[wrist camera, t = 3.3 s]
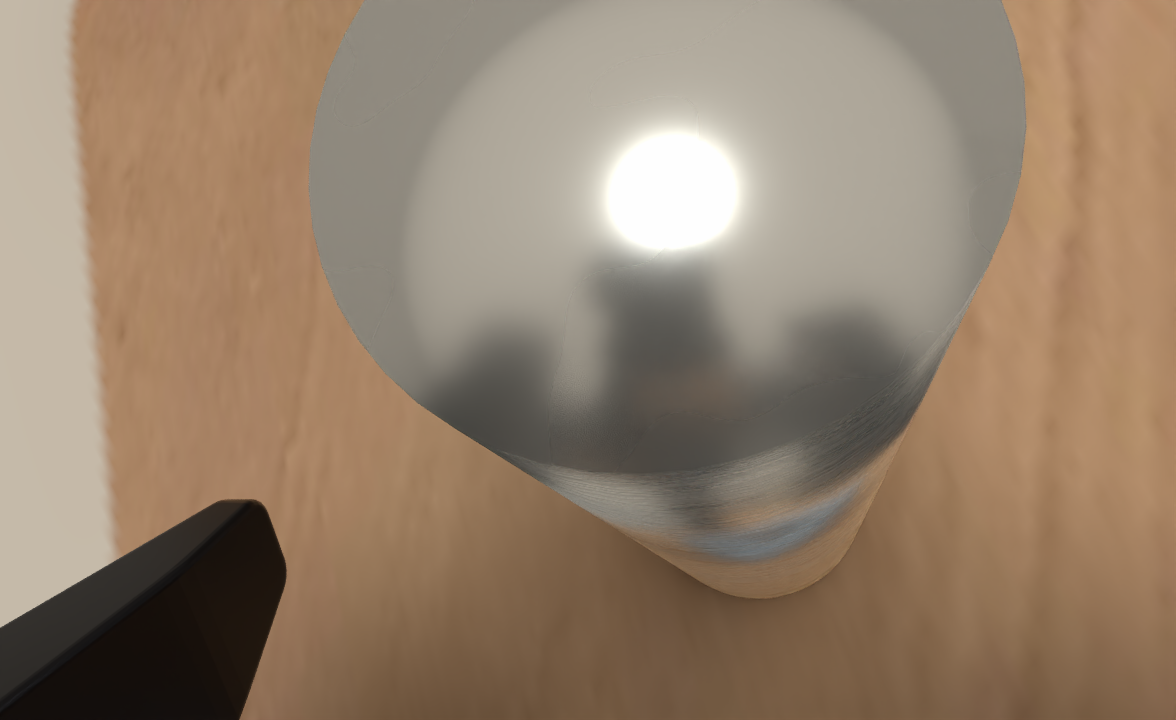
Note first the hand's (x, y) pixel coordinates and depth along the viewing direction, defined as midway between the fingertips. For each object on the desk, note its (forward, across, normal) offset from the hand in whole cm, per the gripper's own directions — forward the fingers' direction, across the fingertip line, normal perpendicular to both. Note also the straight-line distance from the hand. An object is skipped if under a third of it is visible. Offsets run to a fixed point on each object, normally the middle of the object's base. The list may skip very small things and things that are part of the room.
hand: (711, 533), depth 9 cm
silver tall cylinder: (+8, 0, +6) cm, 10 cm away
